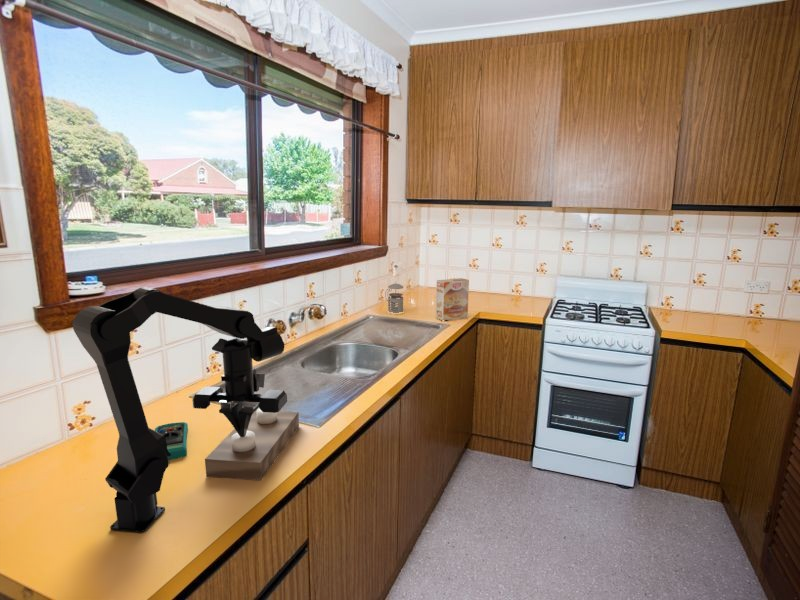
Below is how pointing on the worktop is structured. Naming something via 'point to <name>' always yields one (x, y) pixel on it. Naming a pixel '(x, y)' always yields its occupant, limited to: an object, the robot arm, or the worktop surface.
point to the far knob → (266, 417)
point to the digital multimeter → (175, 438)
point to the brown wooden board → (261, 456)
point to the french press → (393, 298)
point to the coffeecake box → (452, 299)
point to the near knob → (243, 442)
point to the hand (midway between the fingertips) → (243, 436)
